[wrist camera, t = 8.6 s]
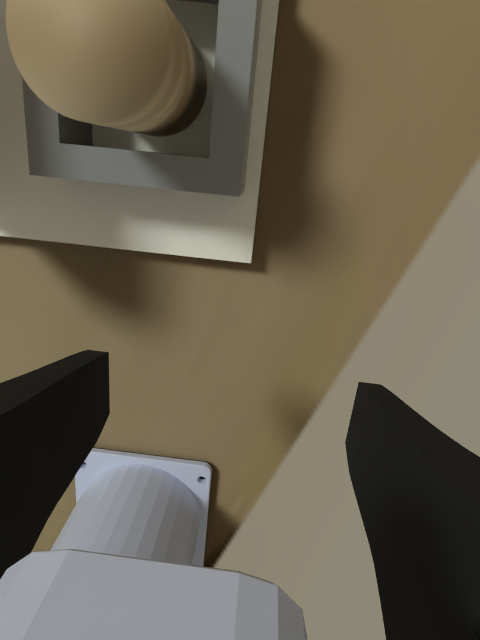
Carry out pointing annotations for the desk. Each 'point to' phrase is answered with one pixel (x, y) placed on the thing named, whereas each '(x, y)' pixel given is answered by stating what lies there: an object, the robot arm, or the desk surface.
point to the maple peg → (109, 62)
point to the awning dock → (148, 152)
